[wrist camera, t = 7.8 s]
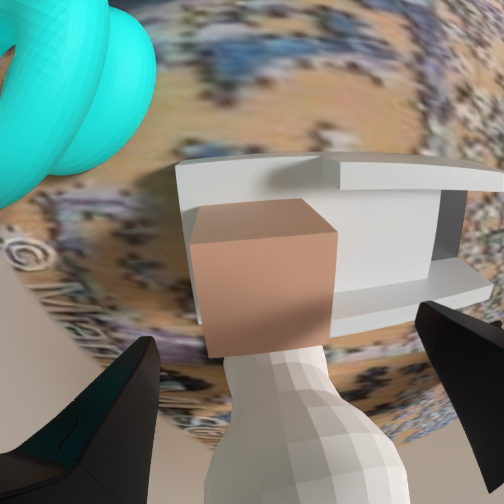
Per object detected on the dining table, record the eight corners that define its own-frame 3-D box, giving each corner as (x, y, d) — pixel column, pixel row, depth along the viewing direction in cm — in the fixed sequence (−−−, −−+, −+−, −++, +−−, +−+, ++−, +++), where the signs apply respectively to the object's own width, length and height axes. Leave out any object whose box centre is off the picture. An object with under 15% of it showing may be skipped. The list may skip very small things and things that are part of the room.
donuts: (-112, 150, 4) (-9, -66, 1) (-1, 126, 13) (78, -5, 10) (-2, 282, 7) (168, -27, 4) (99, 201, 16) (198, 58, 13)
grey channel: (451, 268, 20) (489, 298, 16) (200, 301, 19) (196, 353, 15) (467, 160, 17) (515, 174, 12) (181, 160, 16) (165, 173, 11)
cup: (210, 404, 24) (216, 564, 10) (198, 306, 19) (189, 546, 6) (327, 394, 25) (377, 536, 11) (350, 298, 20) (462, 480, 7)
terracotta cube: (300, 286, 16) (327, 344, 12) (210, 295, 16) (208, 358, 12) (301, 198, 14) (338, 232, 10) (199, 206, 14) (189, 244, 10)
